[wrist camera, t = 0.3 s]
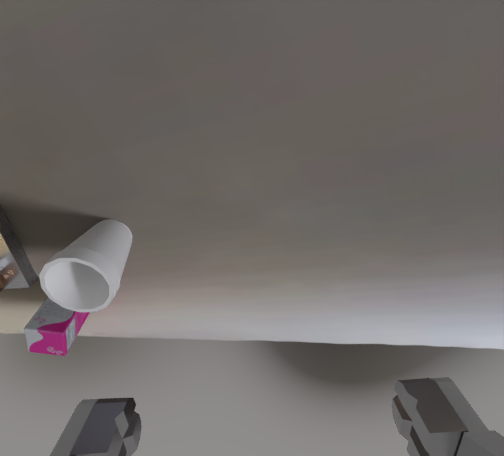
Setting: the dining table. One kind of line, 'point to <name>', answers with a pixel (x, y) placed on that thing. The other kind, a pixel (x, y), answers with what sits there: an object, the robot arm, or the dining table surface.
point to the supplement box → (53, 328)
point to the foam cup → (88, 268)
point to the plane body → (13, 259)
